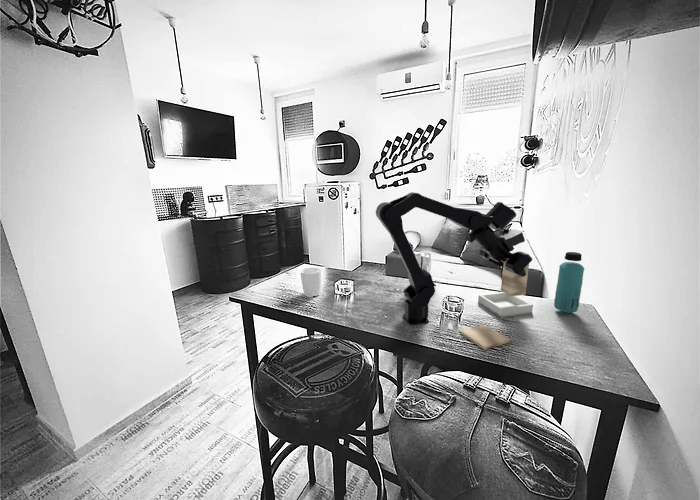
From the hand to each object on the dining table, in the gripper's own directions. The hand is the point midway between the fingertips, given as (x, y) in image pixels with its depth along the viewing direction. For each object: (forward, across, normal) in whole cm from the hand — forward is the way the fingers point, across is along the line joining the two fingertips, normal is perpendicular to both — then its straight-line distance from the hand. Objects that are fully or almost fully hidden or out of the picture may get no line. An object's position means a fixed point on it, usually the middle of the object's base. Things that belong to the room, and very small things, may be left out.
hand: (518, 272), depth 92 cm
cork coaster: (-3, -14, +22) cm, 26 cm away
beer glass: (-7, +23, +26) cm, 36 cm away
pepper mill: (+4, 0, +6) cm, 7 cm away
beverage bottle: (+20, -3, -1) cm, 20 cm away
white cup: (-38, +27, +58) cm, 74 cm away
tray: (+8, +3, +11) cm, 14 cm away
